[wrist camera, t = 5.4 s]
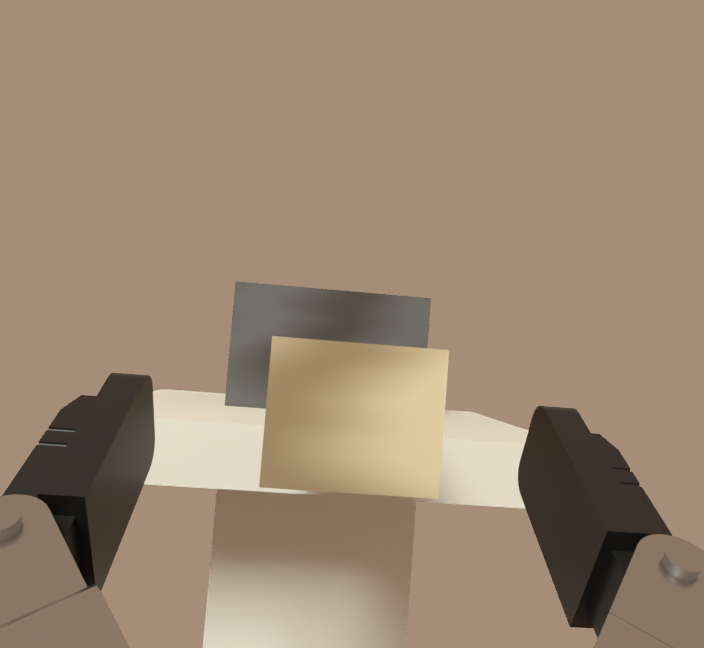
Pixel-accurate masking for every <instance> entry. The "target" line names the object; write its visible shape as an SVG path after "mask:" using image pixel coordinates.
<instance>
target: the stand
mask: <svg viewBox="0 0 704 648" xmlns="http://www.w3.org/2000/svg"><path fill="white" fill-rule="evenodd" d="M225 395H226V394H221V393H207V392H195V391H180V390H167V389H161V390H157V391H153V406H154V427H155V447H154V455H153V460H152V464H151V467H150V470H149V472H148V475H147V477H146V480H145V482H144V484H150V485H166V486H182V487H197V488H213V489H217V495H216V506H215V518H214V529H213V540H212V551H211V562H210V574H209V584H208V595H207V596H208V597H207V608H206V618H205V629H204V640H203V648H406V636H407V623H408V609H409V595H410V581H411V567H412V553H413V538H414V525H415V511H416V510H415V509H416V502H432V503H448V504H449V503H450V504H465V505H479V506H496V507H510V508H525V505H524V503H523V500H522V497H521V494H520V491H519V486H518V468H519V463H520V459H521V456H522V452H523V449H524V445H525V442H526V438H527V435H528V430H525V429H522V428H519V427H516V426H513V425H510V424H507V423H504V422H501V421H498V420H495V419H492V418H489V417H486V416H483V415H480V414H477V413H474V412H465V411H450V410H445V416H444V431H443V445H442V459H441V474H440V488H439V499H432V498H417V497H401V496H386V495H370V494H354V493H339V492H323V491H308V490H292V489H277V488H261V487H259V483H260V471H261V459H262V448H263V436H264V424H265V413H266V409H264V408H250V407H237V406H225Z"/></svg>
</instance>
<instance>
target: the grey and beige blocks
mask: <svg viewBox="0 0 704 648" xmlns="http://www.w3.org/2000/svg"><path fill="white" fill-rule="evenodd" d="M430 302H431V299H430V298H419V297H408V296H397V295H385V294H374V293H361V292H350V291H338V290H327V289H315V288H304V287H292V286H281V285H268V284H257V283H246V282H236V284H235V296H234V306H233V317H232V329H231V339H230V351H229V363H228V373H227V384H226V395H225V406H237V407H250V408H264V409H266V413H265V424H264V436H263V448H262V459H261V471H260V483H259V487H261V488H277V489H292V490H308V491H323V492H339V493H354V494H370V495H386V496H401V497H417V498H432V499H439V488H440V474H441V459H442V445H443V431H444V416H445V400H446V387H447V373H448V359H449V350H441V349H428V348H427V343H428V330H429V316H430Z"/></svg>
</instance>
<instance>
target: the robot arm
mask: <svg viewBox="0 0 704 648" xmlns="http://www.w3.org/2000/svg"><path fill="white" fill-rule="evenodd" d="M154 447H155V427H154V406H153V386H152V379H151V377H150V376H148V375H134V374H121V373H111V374H110V375H109V377H108V378H107V380H106V382H105V383H104V385H103V386H102V388H101V390H100V392H99V393H98V395H97V396H85V395H81V396H80V397H78V398H77V399H75V400H74V401H72V402H71V403H70V404H68V405H67V406H65V407H64V408H63V409H61V410H60V411H59V413H58V414H57V416H56V417H55V419H54V420H53V422H52V423H51V425H50V426H49V430H48V431H46V432H45V434H44V435H43V436H42V438H41V439H40V441H39V445H36V447H35V448H34V450H33V451H32V453H31V454H30V456H29V457H28V458H27V460H26V461H25V463H24V464H23V466H22V467H21V469H20V470H19V472H18V473H17V475H16V476H15V478H14V479H13V481H12V482H11V484H10V485H9V487H8V488H7V489H6V491H5V493H4V494H3V495H2V496H0V648H129V646H128V644H127V642H126V640H125V638H124V636H123V634H122V633H121V630H120V629H119V627H118V624H117V622H116V620H115V619H114V617H113V615H112V613H111V611H110V609H109V607H108V605H107V603H106V601H105V599H104V597H103V595H102V593H101V590H102V587H103V585H104V582H105V580H106V577H107V575H108V572H109V570H110V567H111V565H112V562H113V560H114V557H115V555H116V552H117V550H118V547H119V545H120V542H121V540H122V537H123V535H124V532H125V530H126V527H127V525H128V522H129V520H130V517H131V515H132V512H133V509H134V507H135V505H136V502H137V500H138V497H139V495H140V492H141V490H142V487H143V485H144V482H145V480H146V477H147V475H148V472H149V470H150V467H151V464H152V460H153V455H154ZM518 486H519V491H520V494H521V497H522V500H523V503H524V505H525V508H526V510H527V513H528V516H529V519H530V521H531V524H532V527H533V529H534V532H535V534H536V537H537V540H538V543H539V545H540V548H541V551H542V553H543V556H544V559H545V561H546V564H547V567H548V569H549V572H550V575H551V577H552V580H553V583H554V585H555V588H556V591H557V593H558V596H559V599H560V601H561V604H562V607H563V609H564V612H565V615H566V617H567V620H568V623H569V625H570V627H581V628H594V630H595V633H596V635H597V637H598V639H597V642H596V644H595V646H594V648H704V551H703V550H701V549H700V548H698V547H697V546H695V545H693V544H691V543H690V542H687V541H685V540H683V539H680V538H677V537H674V536H672V534H671V533H670V531H669V529H668V528H667V526H666V525H665V523H664V522H663V520H662V518H661V517H660V515H659V514H658V512H657V510H656V509H655V507H654V506H653V504H652V502H651V501H650V499H649V498H648V496H647V495H646V493H645V491H644V490H643V488H642V487H639V482H638V480H637V479H636V477H635V476H634V474H633V473H632V472H630V468H629V466H628V465H627V463H626V461H625V460H624V458H623V456H622V455H621V453H620V452H619V450H618V449H616V448H615V447H614V446H613V445H612V444H610V443H609V442H608V441H607V440H606V439H605V438H603V437H602V436H601V435H600V434H592V433H590V431H589V430H588V428H587V426H586V425H585V423H584V421H583V419H582V418H581V416H580V414H579V413H578V411H577V410H576V409H572V408H560V407H546V406H539V407H537V409H536V410H535V412H534V414H533V417H532V421H531V424H530V428H529V431H528V435H527V438H526V442H525V445H524V449H523V452H522V456H521V459H520V463H519V468H518Z"/></svg>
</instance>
